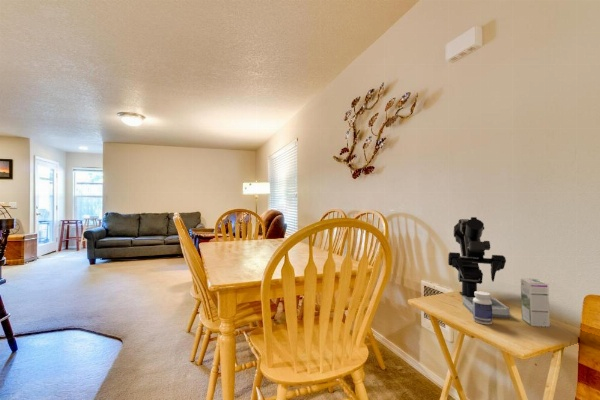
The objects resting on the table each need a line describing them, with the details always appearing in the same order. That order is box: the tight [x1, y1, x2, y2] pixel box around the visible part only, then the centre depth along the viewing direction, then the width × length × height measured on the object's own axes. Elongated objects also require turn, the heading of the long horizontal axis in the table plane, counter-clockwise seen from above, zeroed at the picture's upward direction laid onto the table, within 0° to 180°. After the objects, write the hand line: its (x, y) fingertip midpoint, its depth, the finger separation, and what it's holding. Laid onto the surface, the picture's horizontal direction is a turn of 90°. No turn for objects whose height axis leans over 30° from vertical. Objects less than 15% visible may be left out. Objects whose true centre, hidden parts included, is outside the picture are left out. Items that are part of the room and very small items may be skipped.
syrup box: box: [520, 278, 551, 328], centre depth 97 cm, size 6×6×14 cm
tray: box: [462, 296, 511, 319], centre depth 108 cm, size 12×11×4 cm
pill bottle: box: [472, 290, 493, 325], centre depth 99 cm, size 6×6×10 cm
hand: (478, 279), depth 105 cm, fingers open, 9 cm apart
